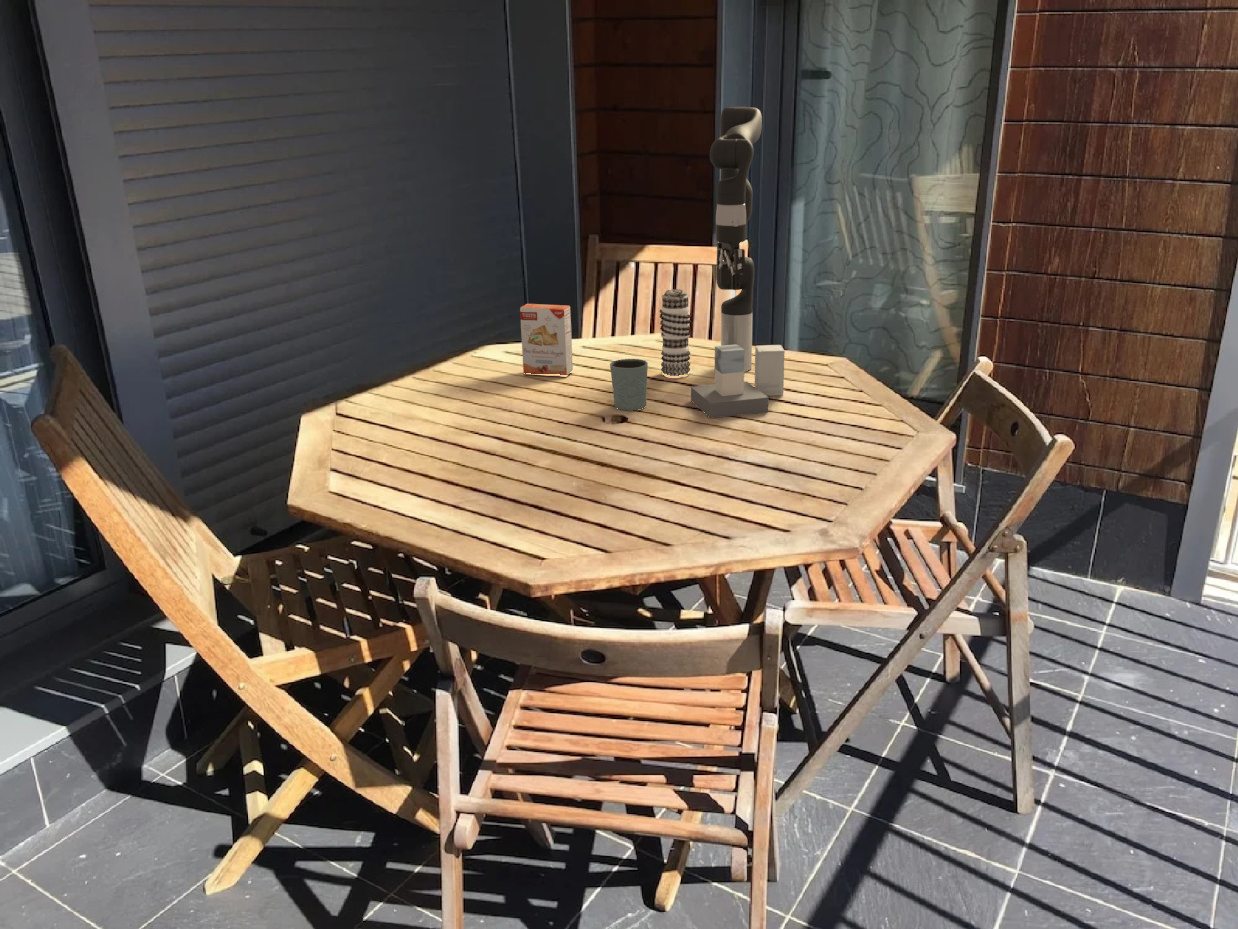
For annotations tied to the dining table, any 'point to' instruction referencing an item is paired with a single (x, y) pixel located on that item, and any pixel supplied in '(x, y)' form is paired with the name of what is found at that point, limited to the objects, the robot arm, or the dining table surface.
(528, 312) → the cracker box
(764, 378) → the supplement box
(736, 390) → the white cube
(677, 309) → the decorative candle
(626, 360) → the green cup
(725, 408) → the plinth
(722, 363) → the grey cube
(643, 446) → the dining table surface
